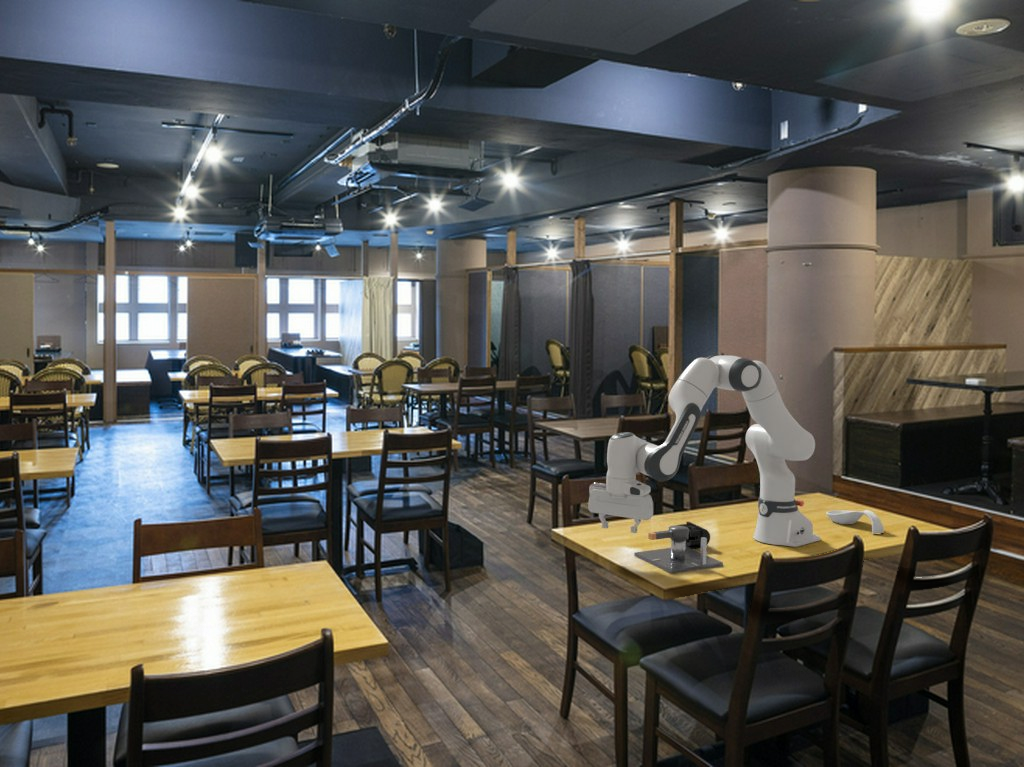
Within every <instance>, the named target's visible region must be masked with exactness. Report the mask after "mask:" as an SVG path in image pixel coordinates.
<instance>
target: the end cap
mask: <svg viewBox="0 0 1024 767" xmlns="http://www.w3.org/2000/svg"><path fill="white" fill-rule="evenodd" d="M677 525H678V526H685V527H688V528H689V538H688V539H687V540H686V547H688V548H690V549H692V550H701V538H702V537H705V538H707V545H708V544H709V543H710V541H711V534H710V531H709V530H707V528H706V529H705V528H703V527H702V526H700V525H697V524H696V523H693V522H691V521H686V523H684V524H683V523H682V524H677Z"/></svg>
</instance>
